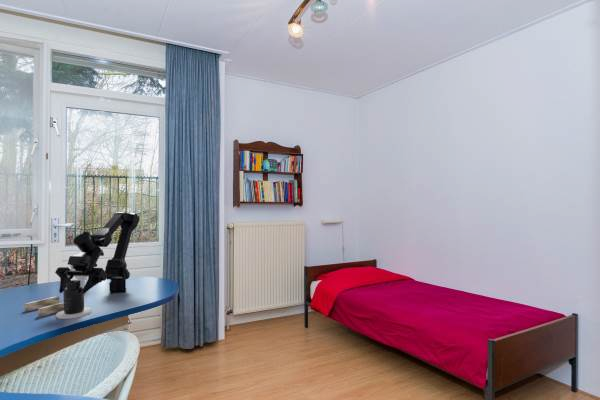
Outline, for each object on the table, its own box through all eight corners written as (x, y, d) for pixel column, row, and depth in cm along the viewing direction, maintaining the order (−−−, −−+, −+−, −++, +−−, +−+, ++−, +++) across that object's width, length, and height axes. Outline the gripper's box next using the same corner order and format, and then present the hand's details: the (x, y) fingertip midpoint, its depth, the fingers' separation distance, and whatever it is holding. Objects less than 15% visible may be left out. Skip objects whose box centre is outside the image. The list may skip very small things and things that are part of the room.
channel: (57, 302, 152) (57, 295, 152) (73, 307, 145) (73, 300, 145) (24, 311, 141) (24, 303, 141) (39, 316, 135) (39, 309, 135)
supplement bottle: (75, 308, 143) (75, 278, 143) (88, 309, 141) (88, 280, 141) (59, 313, 137) (58, 282, 136) (72, 315, 135) (72, 284, 134)
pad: (93, 306, 147) (93, 305, 147) (90, 316, 136) (90, 314, 136) (59, 310, 142) (59, 309, 142) (52, 320, 131) (52, 319, 131)
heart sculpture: (81, 294, 163) (80, 256, 163) (69, 295, 162) (68, 256, 162) (94, 285, 178) (93, 250, 178) (83, 286, 178) (82, 250, 177)
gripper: (58, 247, 143) (36, 281, 132) (102, 247, 141) (84, 282, 131) (72, 262, 151) (53, 296, 140) (114, 263, 149) (98, 297, 139)
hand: (71, 292), depth 137 cm, fingers open, 9 cm apart
